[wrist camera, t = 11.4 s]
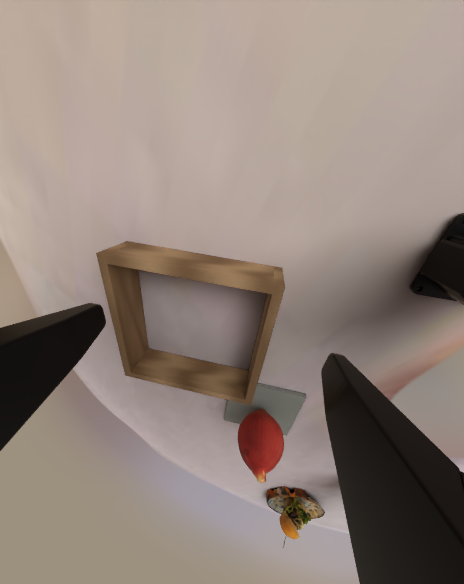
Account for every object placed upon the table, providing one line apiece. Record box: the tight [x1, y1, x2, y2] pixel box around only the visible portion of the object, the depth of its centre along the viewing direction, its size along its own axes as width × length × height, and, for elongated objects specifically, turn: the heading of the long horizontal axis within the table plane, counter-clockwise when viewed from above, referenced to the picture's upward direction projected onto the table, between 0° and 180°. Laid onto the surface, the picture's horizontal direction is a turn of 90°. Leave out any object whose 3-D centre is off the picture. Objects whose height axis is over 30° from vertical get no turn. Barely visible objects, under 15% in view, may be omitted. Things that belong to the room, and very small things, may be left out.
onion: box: [238, 409, 284, 483], centre depth 25 cm, size 6×6×8 cm
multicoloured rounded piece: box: [267, 486, 325, 543], centre depth 39 cm, size 12×12×8 cm
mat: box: [224, 383, 306, 435], centre depth 29 cm, size 10×10×1 cm
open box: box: [96, 241, 285, 405], centre depth 21 cm, size 16×16×4 cm
